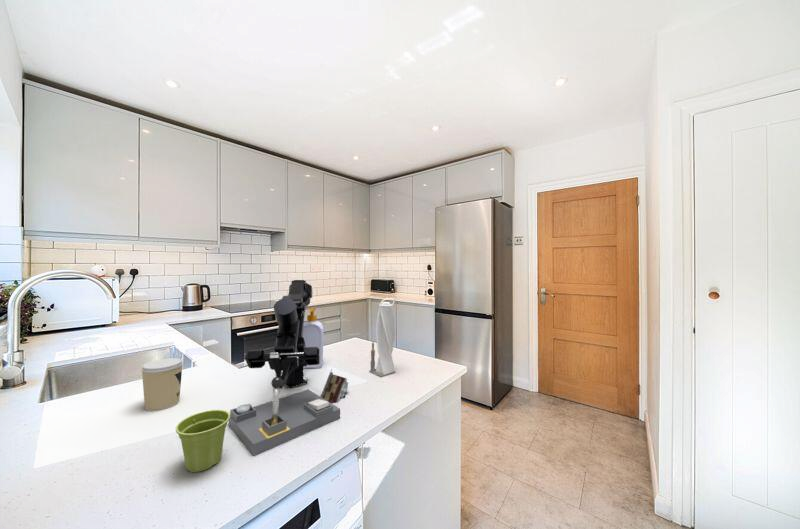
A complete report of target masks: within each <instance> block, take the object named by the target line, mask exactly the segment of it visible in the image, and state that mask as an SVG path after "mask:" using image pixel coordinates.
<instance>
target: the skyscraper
mask: <svg viewBox="0 0 800 529" xmlns="http://www.w3.org/2000/svg"><path fill="white" fill-rule="evenodd" d="M386 300H393V301H392V303H391V302H389V301H386ZM395 302H396V298H395V297H387V298H386V297H385V298H384V299H382V300H381V302H380V303H379V304H378V311H377V314H376V315H377V316H376V324H375V340H376V347H377V353H378V358H377V362H376V361H375V358H376V357H375V356H376V354H375V353H376V352H375V351H376V350H375V342H371V349H370V370H369V371H368V372H369V373H370V374H373V375H376V376H377V377H380V378H383V377H387V376H389V375H393V374H396V369H395V365H394V364H395V363H394V360H393V355H392V354H393V351H394V346H395V341H396V335H397V334H396V332H397V327H396V326H397V323H396V322H397V321H396V317H395V315H396V314H395V311H394V305H395ZM376 363H377V364H376Z"/></svg>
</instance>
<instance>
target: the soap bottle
mask: <svg viewBox="0 0 800 529" xmlns="http://www.w3.org/2000/svg"><path fill="white" fill-rule="evenodd" d="M315 311H316V308H315V307H309V313H310V314H308V315H307V317H306V319H307V320H306V321H304V326H303V335H302V337H303V338H304V341H305V346H306V347H318V348H319V350H320V364H318V365H307V366H303V370H304V369H320V368H322V366H323V361H324V337H325V336H324V335H325V332H324V331H325V328H324V325H323V324H322V323H321V321H318V320H317V315H316V314H315Z"/></svg>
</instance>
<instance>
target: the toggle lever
mask: <svg viewBox="0 0 800 529" xmlns="http://www.w3.org/2000/svg"><path fill="white" fill-rule="evenodd" d="M270 384H271V386H272V388H273V392H272V395H273V396H272V401H273V405H272V419H271V426H272V425H275V424H278V410H279V399H280V390H281V389H280V387H281V386H282V384H283V380H282V378H281V377H276V376H275V377H273V378H272V380H271V382H270Z"/></svg>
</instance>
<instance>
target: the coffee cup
mask: <svg viewBox="0 0 800 529" xmlns="http://www.w3.org/2000/svg"><path fill="white" fill-rule="evenodd" d="M183 364H184V361H183V360H182V359H181V358H177V357H171V358H170V357H169V358H167V357H166V358H162V359H161V358H160V359H156V360H155V359H154V360H153V361H152V360H151V361H148V362H146V363H144V364H143V365H142V368H141V369H140V370H141V373H142V374H141V376H142V387H143V400H144V408H145V410H146V411H148V412H149V411H150V412H155V411H156V412H157V411H162V410H166V409H169V408H172V407H174V406H176V405H178V404H179V402H180V397H181V384H182V377H183V376H182V375H183V374H182V372H183Z"/></svg>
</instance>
